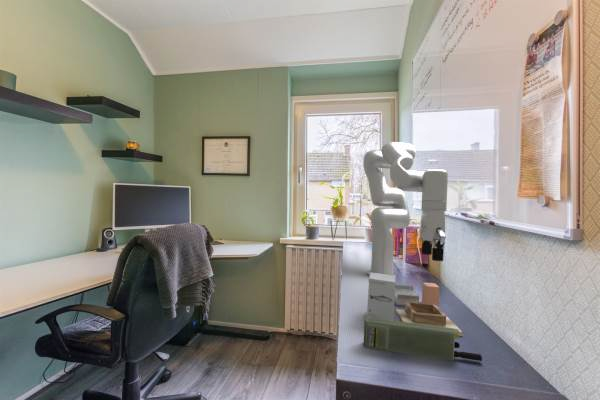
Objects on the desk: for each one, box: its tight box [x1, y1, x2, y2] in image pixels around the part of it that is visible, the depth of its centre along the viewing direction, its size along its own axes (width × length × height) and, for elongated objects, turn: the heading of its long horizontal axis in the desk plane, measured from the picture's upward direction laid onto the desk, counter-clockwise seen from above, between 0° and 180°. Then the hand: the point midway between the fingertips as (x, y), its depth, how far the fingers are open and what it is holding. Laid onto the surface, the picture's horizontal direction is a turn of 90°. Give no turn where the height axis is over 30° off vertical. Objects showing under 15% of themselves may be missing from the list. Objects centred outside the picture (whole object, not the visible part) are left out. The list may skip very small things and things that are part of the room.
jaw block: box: [421, 282, 440, 308], centre depth 88 cm, size 4×4×7 cm
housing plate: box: [394, 283, 420, 307], centre depth 90 cm, size 8×7×4 cm
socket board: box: [395, 302, 464, 337], centre depth 75 cm, size 12×14×4 cm
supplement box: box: [366, 272, 397, 321], centre depth 76 cm, size 7×7×13 cm
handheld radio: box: [363, 316, 483, 362], centre depth 60 cm, size 7×3×25 cm
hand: (431, 257), depth 88 cm, fingers open, 9 cm apart
